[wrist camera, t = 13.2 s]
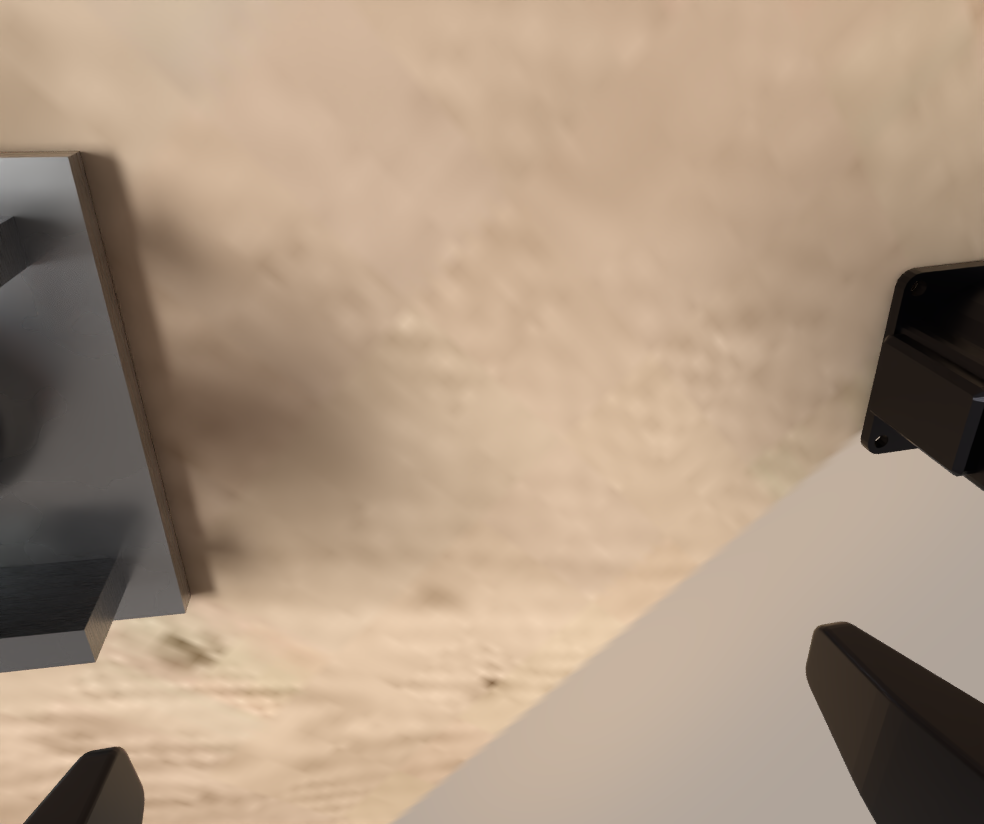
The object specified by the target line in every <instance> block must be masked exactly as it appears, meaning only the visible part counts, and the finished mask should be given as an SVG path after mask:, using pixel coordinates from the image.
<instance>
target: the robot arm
mask: <svg viewBox="0 0 984 824" xmlns="http://www.w3.org/2000/svg"><path fill="white" fill-rule="evenodd" d="M917 281H918V284H917V286H916V288H915V289H914V290H913V291H911V289H912V287H913V285H914V284H915V283H916V282H917ZM879 436H880V438H879V439H878V440H877V441H875V440H876V439H877V438H878V437H879ZM861 443H862V445H863V446H864V447H865V448H866V449H867V450H869V451H870V452H872V453H874V454H881V453H888V452H895V451H902V450H909V449H916V448H919V449H920V450H921V451H923V452H924V453H926V454H927V455H928V456H929V457H931V458H932V459H933V460H935V461H936V462H937V463H938V464H940V465H941V466H943V467H944V468H945V469H947V470H948V471H949V472H950V473H952V474H953V475H955V476H964V477H965V478H967V479H968V480H969V481H971V482H972V483H974V484H975V485H976V486H977V487H979V488H980V489H981V490H983V491H984V261H977V262H968V263H959V264H950V265H941V266H932V267H923V268H914V269H911V270H908V271H906V272H905V273H904V274H902V275H901V277H900V278H899V279H898V281H897V283H896V286H895V290H894V295H893V299H892V303H891V308H890V312H889V317H888V321H887V325H886V330H885V334H884V338H883V343H882V347H881V352H880V356H879V360H878V365H877V369H876V374H875V378H874V382H873V387H872V391H871V395H870V400H869V404H868V409H867V413H866V417H865V422H864V426H863V430H862V435H861ZM806 676H807V680H808V683H809V686H810V688H811V691H812V693H813V695H814V697H815V699H816V701H817V703H818V706H819V708H820V710H821V712H822V714H823V716H824V718H825V721H826V723H827V725H828V727H829V730H830V731H831V734H832V736H833V738H834V740H835V742H836V745H837V747H838V749H839V751H840V753H841V756H842V758H843V760H844V762H845V764H846V766H847V769H848V771H849V773H850V775H851V777H852V779H853V781H854V783H855V785H856V787H857V789H858V791H859V793H860V795H861V797H862V799H863V800H864V802H865V804H866V806H867V807H868V810H869V811H870V813H871V815H872V816H873V818H874V820H875V822H876V823H877V824H984V704H983V703H982V702H980V701H978V700H977V699H975V698H973V697H972V696H970V695H968V694H967V693H965V692H963V691H962V690H960V689H958V688H957V687H955V686H953V685H952V684H950V683H948V682H947V681H945V680H943V679H942V678H940V677H938V676H937V675H935V674H933V673H932V672H930V671H929V670H927V669H925V668H924V667H922V666H920V665H919V664H917V663H915V662H914V661H912V660H910V659H909V658H907V657H905V656H904V655H902V654H901V653H899V652H897V651H896V650H894V649H892V648H891V647H889V646H887V645H886V644H884V643H882V642H881V641H879V640H877V639H876V638H874V637H872V636H871V635H869V634H868V633H866V632H864V631H863V630H861V629H859V628H857V627H856V626H854V625H852V624H850V623H848V622H835V623H830V624H824V625H820V626H818V627H817V628H816V629H815V630H814V633H813V636H812V641H811V645H810V650H809V654H808V659H807V663H806ZM143 812H144V790H143V786H142V784H141V782H140V779H139V777H138V775H137V773H136V771H135V769H134V767H133V765H132V763H131V761H130V759H129V757H128V754H127V753H126V751H125V750H124V749H123V748H121V747H111V748H105V749H99V750H93V751H90V752H87V753H85V754H84V755H83V756H82V757H80V758H79V759H78V760H77V762H76V763H75V764H74V765H73V766H72V767H71V769H70V770H69V771H68V772H67V773H66V774H65V776H64V777H63V778H62V779H61V780H60V781H59V783H58V784H57V785H56V786H55V787H54V788H53V790H52V791H51V792H50V793H49V794H48V795H47V797H46V798H45V799H44V800H43V801H42V802H41V803H40V805H39V806H38V807H37V808H36V809H35V810H34V812H33V813H32V814H31V815H30V816H29V817H28V819H27V820H26V821H25V822H24V823H23V824H142V820H143Z"/></svg>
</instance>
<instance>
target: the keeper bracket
mask: <svg viewBox="0 0 984 824" xmlns="http://www.w3.org/2000/svg"><path fill="white" fill-rule="evenodd" d="M189 600H190V592H189V588H188V584H187V580H186V576H185V571H184V567H183V563H182V559H181V555H180V551H179V547H178V543H177V539H176V535H175V531H174V527H173V523H172V519H171V515H170V511H169V507H168V503H167V499H166V495H165V491H164V487H163V483H162V479H161V475H160V471H159V467H158V463H157V459H156V455H155V451H154V447H153V443H152V439H151V435H150V431H149V427H148V423H147V419H146V415H145V411H144V407H143V403H142V399H141V395H140V391H139V387H138V383H137V379H136V375H135V371H134V367H133V363H132V359H131V355H130V351H129V347H128V343H127V339H126V335H125V331H124V327H123V323H122V319H121V315H120V311H119V307H118V303H117V299H116V295H115V291H114V287H113V283H112V279H111V275H110V271H109V267H108V263H107V259H106V255H105V251H104V247H103V243H102V239H101V235H100V231H99V227H98V223H97V219H96V215H95V211H94V207H93V203H92V199H91V195H90V191H89V187H88V183H87V179H86V175H85V171H84V167H83V163H82V159H81V155H80V151H74V152H0V673H2V672H11V671H20V670H29V669H38V668H48V667H57V666H66V665H75V664H84V663H94V662H96V660H97V658H98V655H99V653H100V650H101V648H102V646H103V643H104V641H105V638H106V636H107V633H108V631H109V629H110V626H111V624H112V621H113V620H123V619H133V618H143V617H153V616H163V615H173V614H183V613H186V610H187V606H188V603H189Z"/></svg>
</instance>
